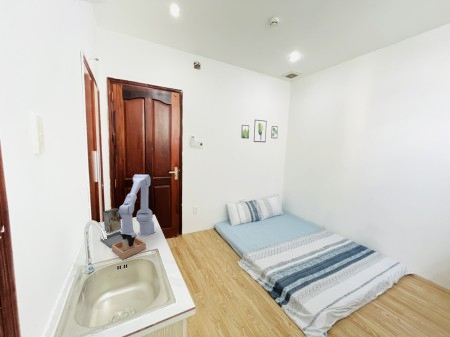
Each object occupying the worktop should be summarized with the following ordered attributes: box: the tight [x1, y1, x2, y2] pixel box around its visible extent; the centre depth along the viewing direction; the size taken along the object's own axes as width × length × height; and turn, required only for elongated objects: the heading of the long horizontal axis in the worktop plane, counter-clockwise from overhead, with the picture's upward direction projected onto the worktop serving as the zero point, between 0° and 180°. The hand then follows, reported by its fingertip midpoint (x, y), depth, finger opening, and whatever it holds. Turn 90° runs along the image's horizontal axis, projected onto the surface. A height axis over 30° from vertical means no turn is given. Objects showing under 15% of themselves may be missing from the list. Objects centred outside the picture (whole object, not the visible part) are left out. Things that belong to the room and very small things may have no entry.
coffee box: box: [102, 207, 122, 234], centre depth 143 cm, size 9×6×16 cm
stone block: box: [122, 239, 135, 251], centre depth 117 cm, size 5×5×5 cm
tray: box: [99, 230, 123, 249], centre depth 128 cm, size 13×16×2 cm
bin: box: [111, 236, 147, 260], centre depth 118 cm, size 14×14×4 cm
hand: (128, 244), depth 117 cm, fingers open, 5 cm apart
